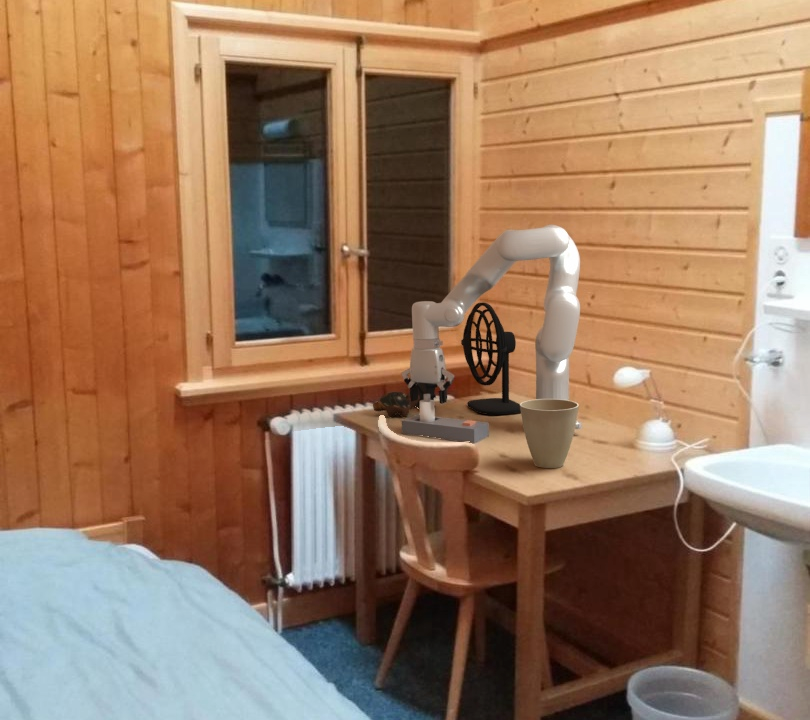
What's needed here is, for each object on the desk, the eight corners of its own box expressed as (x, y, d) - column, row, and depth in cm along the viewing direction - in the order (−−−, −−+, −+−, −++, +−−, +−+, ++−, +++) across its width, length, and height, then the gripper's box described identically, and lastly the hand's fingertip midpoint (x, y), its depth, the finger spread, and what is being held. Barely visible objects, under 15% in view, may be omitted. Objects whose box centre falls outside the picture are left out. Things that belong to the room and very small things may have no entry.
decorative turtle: (420, 419, 306) (418, 394, 304) (372, 422, 307) (370, 397, 305) (421, 410, 315) (419, 386, 314) (375, 414, 317) (372, 390, 315)
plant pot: (589, 463, 253) (590, 403, 250) (556, 476, 242) (556, 413, 239) (541, 453, 263) (542, 395, 260) (508, 465, 252) (508, 405, 249)
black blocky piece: (418, 399, 327) (425, 362, 319) (432, 423, 318) (440, 385, 309) (407, 400, 326) (414, 363, 318) (422, 424, 316) (429, 386, 308)
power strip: (488, 436, 283) (488, 420, 282) (474, 443, 275) (474, 426, 274) (417, 427, 295) (417, 411, 294) (401, 433, 287) (401, 417, 287)
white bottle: (437, 430, 289) (437, 393, 287) (430, 433, 285) (429, 396, 283) (424, 428, 291) (424, 392, 289) (417, 431, 287) (416, 395, 285)
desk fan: (452, 403, 328) (451, 299, 322) (500, 399, 333) (500, 296, 327) (482, 420, 302) (481, 307, 296) (534, 415, 307) (534, 305, 302)
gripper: (458, 343, 282) (460, 401, 285) (407, 341, 291) (410, 397, 294) (446, 347, 276) (448, 406, 279) (394, 344, 285) (397, 402, 288)
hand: (428, 401), depth 286 cm, fingers open, 9 cm apart
